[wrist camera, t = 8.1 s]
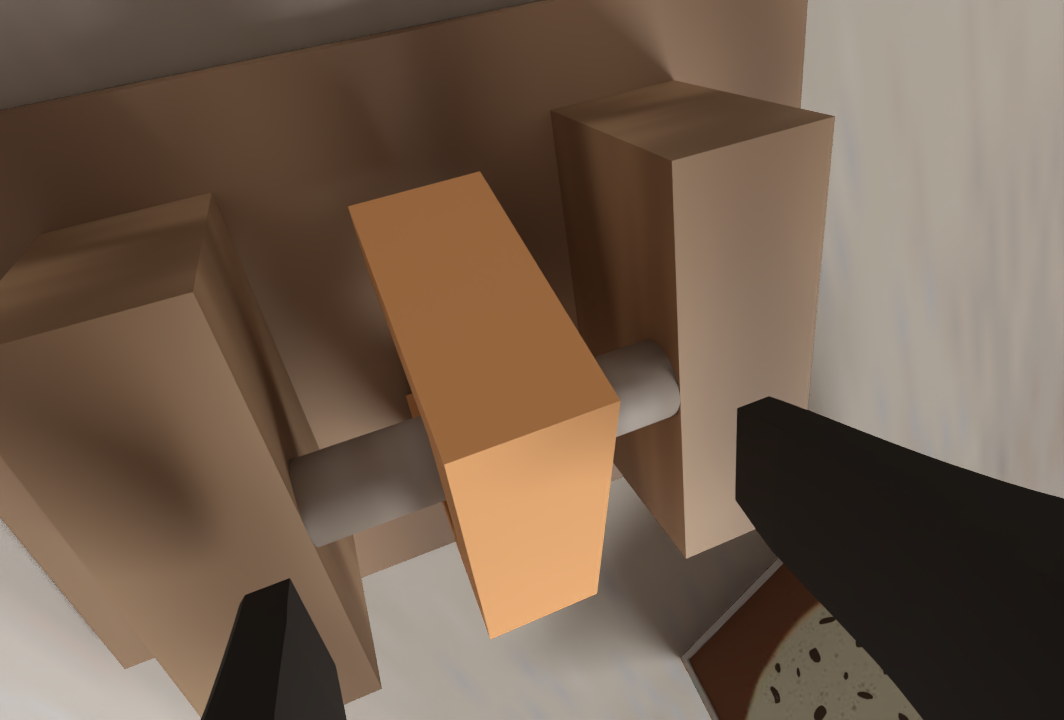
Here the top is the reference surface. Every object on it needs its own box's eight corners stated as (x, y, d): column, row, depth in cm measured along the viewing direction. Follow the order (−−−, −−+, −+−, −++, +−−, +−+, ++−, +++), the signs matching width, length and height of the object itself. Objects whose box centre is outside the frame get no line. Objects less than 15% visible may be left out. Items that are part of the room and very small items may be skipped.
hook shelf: (129, 643, 18) (85, 884, 13) (-251, 160, 11) (-644, 299, 6) (764, 403, 22) (904, 517, 17) (786, -50, 15) (1030, -65, 10)
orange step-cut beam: (416, 430, 17) (490, 639, 13) (347, 206, 11) (444, 465, 8) (504, 399, 17) (596, 593, 14) (480, 171, 12) (620, 400, 9)
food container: (732, 707, 31) (901, 960, 23) (656, 682, 28) (823, 969, 20) (921, 520, 29) (1179, 726, 21) (864, 469, 26) (1145, 690, 18)
